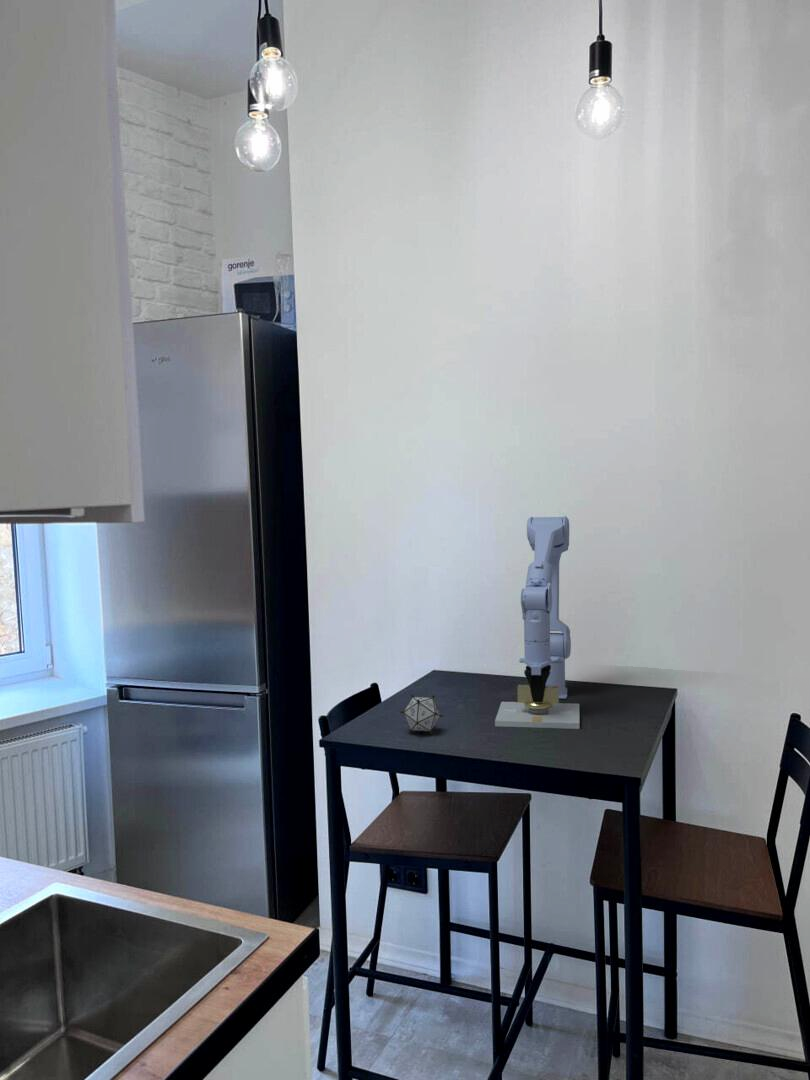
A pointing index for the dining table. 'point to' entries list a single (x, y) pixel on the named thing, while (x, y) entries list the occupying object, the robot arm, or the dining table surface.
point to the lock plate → (538, 716)
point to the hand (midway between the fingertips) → (538, 699)
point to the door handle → (549, 698)
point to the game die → (421, 714)
